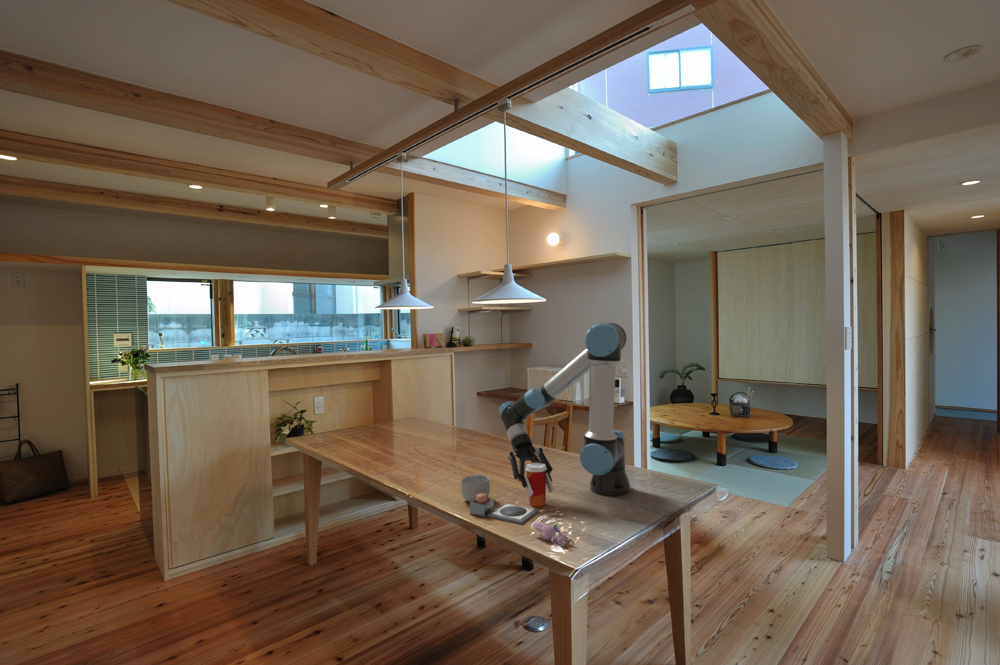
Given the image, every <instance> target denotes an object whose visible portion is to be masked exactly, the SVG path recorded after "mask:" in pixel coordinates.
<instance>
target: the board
mask: <svg viewBox="0 0 1000 665" xmlns="http://www.w3.org/2000/svg"><path fill="white" fill-rule="evenodd" d="M537 513H539V509H538V508H537V509H536V508H532V507H527V506H522V505H516V504H512V503H508V502H507V503H504V504H502V505H501V506H499V507H498V508H496V509H494V511H493V512H491V513H490V514H488V515H487V518H489V517H490V518H491V519H494V518H495V520H499V521H503V522H507V523H513V524H518V525H523V524H525V522H527V521H528V520H530V519H531V518H532V517H533V515H534V516H535V515H537Z"/></svg>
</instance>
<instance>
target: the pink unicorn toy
mask: <svg viewBox="0 0 1000 665" xmlns="http://www.w3.org/2000/svg"><path fill="white" fill-rule="evenodd" d="M530 526H532V527H533V528H535V530H537V531H538V532H539V533H540V534H541V536H542V538H544V540H546V541H549V540H550V541H551V543H554V542H556V543H558V545H559V546H560V547H561V548H565V547H566V546H567V547H566V549H567V548H568V549H569V548H570V543H571V542H572V547H574V545H575V540H572V539H573V538H569V537H568V536H567V535H566V533H562V532H561V529H560V528H559V527H558V526H559V525H558V524H557V523H554V524H553V525H550V524H546V523H545V522H542V521H538V522H535V523H533V524H530ZM557 533H558V534H557Z"/></svg>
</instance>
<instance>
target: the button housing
mask: <svg viewBox="0 0 1000 665" xmlns="http://www.w3.org/2000/svg"><path fill="white" fill-rule="evenodd" d="M494 501H495V500H494V499H492V498H488V497H487V503H485V504H480V503H476V499H475V500H473V501H471V502H469V515H473V514H474V516H477V515H479V516H478V517H481V518H482V517H483V518H485V516H486V517H488V514H490V513H491V512H493V511H494V510H495V502H494Z"/></svg>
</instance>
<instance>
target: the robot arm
mask: <svg viewBox="0 0 1000 665" xmlns="http://www.w3.org/2000/svg"><path fill="white" fill-rule="evenodd" d="M584 344H585V349H584V350H582V352H580V353H579V354H578V355H576V357H574V358H573V359H572V360H570V362H568V363H567V364H566V365H565V366H564V367H563V368H561V369H560V370H559V371H558V372H557V373H556V374H554V375H553V376H552V377H550V378H549V380H547V381H546V382H545V383H544V384H543V385H541V386H540V387H539V388H535V387H533V388H530V389H529V390H528V391H526V392H525V393H524V394H523V395H522V396H520V398H519V399H517V400H516V401H515V402H514V401H506V402H505V403H503V404H501V405H500V406H499V408H498V413H499V416H500V419H501V421H502V423H503V426H504V427H505V431H506V434H507V436H508V439H509V441H510V444H511V445H510V446H512V450H513V451H510V452H509V454H508V456H507V458H508V459H509V460H510V465H511V469H512V474H513V478H514V480H518V482H520V483H521V486H522V487H523V489H524V488H525V490H526V492H527V495H528V498H529V497H531V496H532V494H533V491H532V488H531V486H530V483H529V480H528V478H527V475H525V473H526V472H525V471H526V467H525V466H526V464H525V462H526V461H528V462H529V461H530V463H542V464H545V465H546V468H547V470H546V489H547V491H548V493H550V494H551V493H552V492H553V491H554V489H555V488H554V485H553V484H552V482H553V478H552V476H551V473H552V472H553V467H552V466H551V464H550V462H549V460H548V459H547V457H546V455H545V453H544V450H543V448H542V447H539V448H535V447H534V446H533V442H532V439H531V437H530V435H529V432H528V429H527V427H526V425H525V422H524V420H526V419H527V418H528V417H530V416H531V415H532V414H534V413H535V412H537V411H539V410H541V409H544V408H547V407H549V406H551V405H552V403H553V402H554V401H555V400H556V399H557V398H558V397H559V396H561V395H563V393H564V392H566V390H568V389H569V388H570V387H572V385H574V384H576V383H577V382H578V381H579V380H580V379H581V378H583V377H584V376H585V375H587V373H589V372H590V371H591V372H590V373H591V374H590V389H589V390H590V391H589V394H590V395H589V413H588V414H589V416H588V429H587V431H585V433H584V435H583V447H582V448H581V450H580V452H579V453H580V454H579V462H580V464H581V466H582V467H583V469H584V470H585V471H586V472H588V473H589V474H591V475H592V476H591V480H590V483H589V484H590V485H589V487H590V490H591V491H592V492H593V493H595V494H598V495H600V496H601V495H602V496H607V497H608V496H610V497H611V496H613V497H615V496H624V495H627V494H629V493H630V492H631V483H630V481H629V478H628V477H629V476H628V475H627V472H626V456H625V455H626V454H625V448H626V447H625V442H626V441H625V440H626V439H625V433H624V432H623V431H622V430H618V429H617V430H616V429H614V412H615V395H616V394H615V390H616V372H617V371H616V370H617V369H616V368H617V365H618V364H619V363H621V354H622V350H623V349H624V348H625V346H626V344H627V333H626V331H625V329H624V328H623V327H622V325H621V326H620V325H619V324H618V323H615V322H599V323H595V324H594V325H592V326H591V327H590V328H588V330H587V331H586V333H585V336H584ZM516 457H517V458H518V459H519V460H518V462H519V466H518V462H517V458H516Z"/></svg>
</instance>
